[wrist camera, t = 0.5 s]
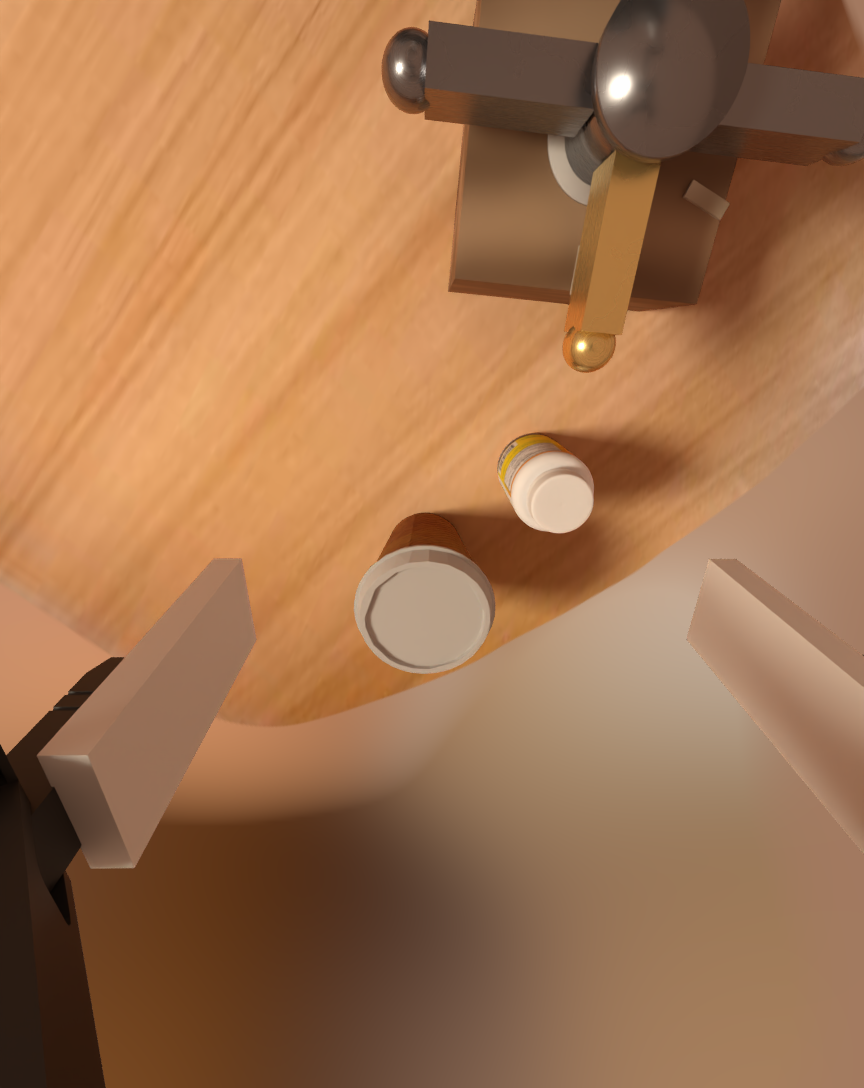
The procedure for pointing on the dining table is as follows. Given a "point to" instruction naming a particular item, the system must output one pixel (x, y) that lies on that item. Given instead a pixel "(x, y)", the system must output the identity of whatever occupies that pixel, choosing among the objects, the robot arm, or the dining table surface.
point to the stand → (578, 187)
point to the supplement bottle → (546, 483)
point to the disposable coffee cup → (424, 599)
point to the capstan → (627, 120)
